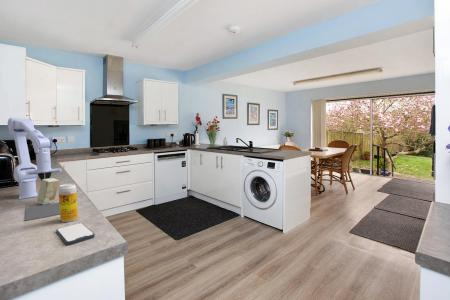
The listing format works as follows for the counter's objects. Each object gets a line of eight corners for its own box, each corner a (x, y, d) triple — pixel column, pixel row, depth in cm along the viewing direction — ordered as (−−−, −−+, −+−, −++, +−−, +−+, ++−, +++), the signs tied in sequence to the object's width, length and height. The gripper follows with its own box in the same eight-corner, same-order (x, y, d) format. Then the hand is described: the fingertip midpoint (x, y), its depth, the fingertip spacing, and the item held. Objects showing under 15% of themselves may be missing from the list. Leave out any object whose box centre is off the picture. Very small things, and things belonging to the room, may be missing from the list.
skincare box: (42, 205, 115) (48, 182, 114) (36, 202, 116) (41, 179, 115) (54, 202, 121) (60, 180, 120) (48, 199, 122) (53, 177, 121)
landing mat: (26, 208, 112) (26, 207, 111) (63, 202, 121) (63, 201, 121) (24, 221, 96) (24, 220, 96) (68, 213, 106) (68, 212, 106)
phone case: (55, 233, 87) (66, 247, 76) (55, 229, 87) (66, 242, 76) (82, 226, 93) (96, 238, 82) (82, 222, 93) (95, 233, 82)
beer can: (59, 223, 94) (57, 187, 92) (61, 218, 99) (59, 184, 97) (77, 221, 96) (75, 185, 95) (78, 216, 102) (76, 182, 100)
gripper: (24, 163, 111) (27, 191, 112) (61, 160, 120) (63, 186, 122) (25, 162, 117) (27, 188, 118) (60, 159, 126) (62, 184, 127)
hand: (45, 187), depth 120 cm, fingers closed
